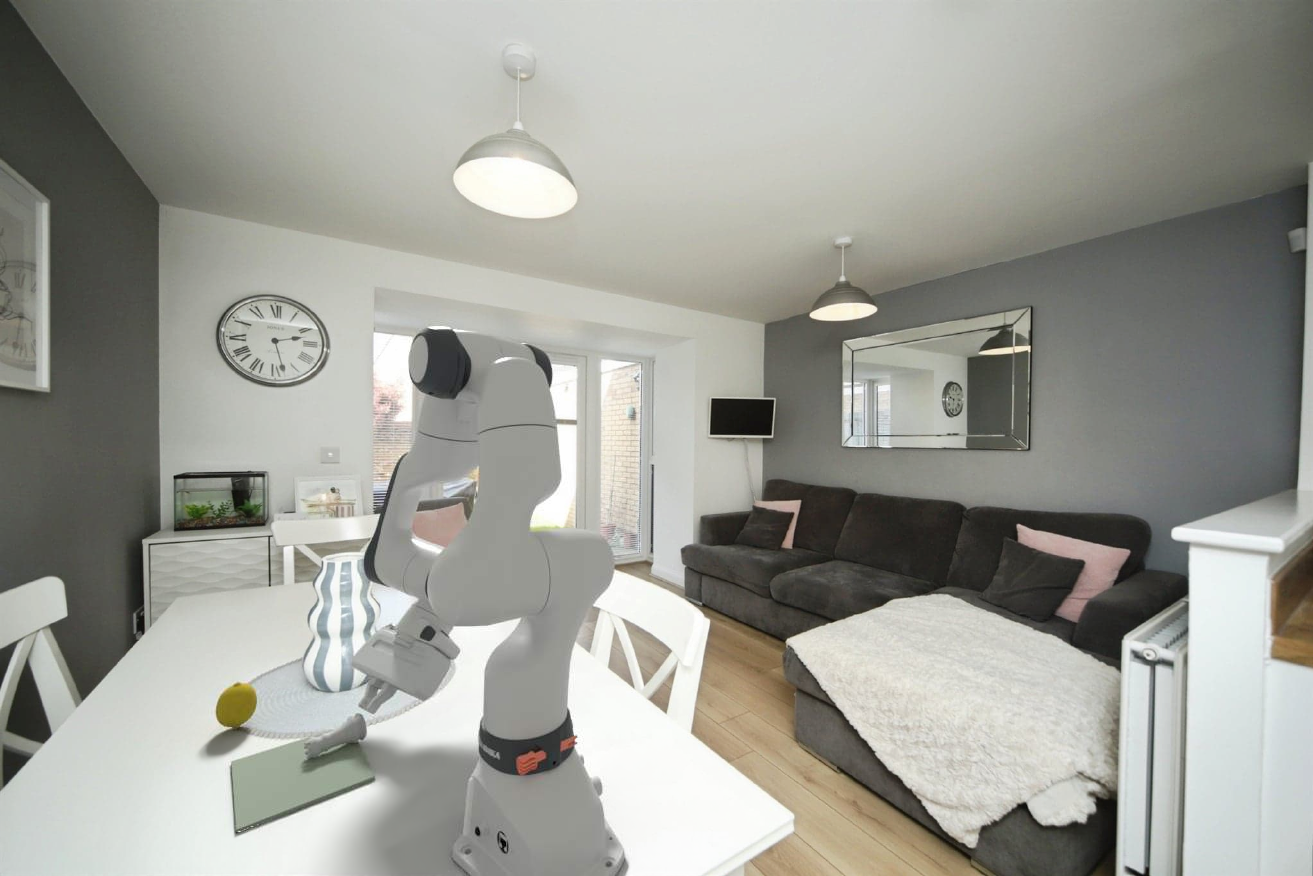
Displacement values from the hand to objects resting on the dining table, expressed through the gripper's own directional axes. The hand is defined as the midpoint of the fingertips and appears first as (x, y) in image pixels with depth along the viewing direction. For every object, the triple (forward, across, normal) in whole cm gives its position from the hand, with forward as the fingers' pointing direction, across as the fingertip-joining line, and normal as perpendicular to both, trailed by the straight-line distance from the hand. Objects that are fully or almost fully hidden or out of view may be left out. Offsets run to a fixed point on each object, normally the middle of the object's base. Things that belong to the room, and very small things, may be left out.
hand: (365, 710), depth 83 cm
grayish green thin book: (+10, -1, -2) cm, 11 cm away
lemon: (+11, -24, -2) cm, 26 cm away
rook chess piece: (+2, -1, +3) cm, 3 cm away
